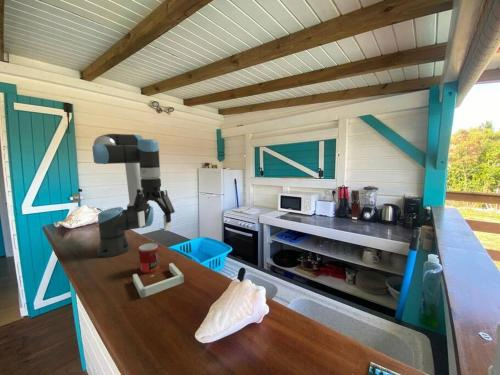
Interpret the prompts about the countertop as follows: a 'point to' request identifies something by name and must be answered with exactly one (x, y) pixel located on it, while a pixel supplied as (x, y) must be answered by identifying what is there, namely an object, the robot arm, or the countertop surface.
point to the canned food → (149, 258)
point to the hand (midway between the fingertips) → (154, 228)
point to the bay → (160, 285)
